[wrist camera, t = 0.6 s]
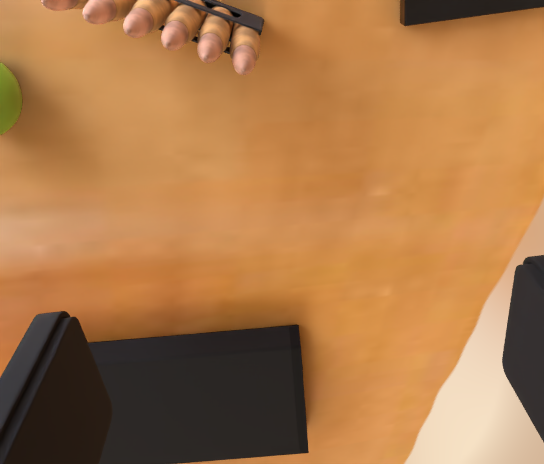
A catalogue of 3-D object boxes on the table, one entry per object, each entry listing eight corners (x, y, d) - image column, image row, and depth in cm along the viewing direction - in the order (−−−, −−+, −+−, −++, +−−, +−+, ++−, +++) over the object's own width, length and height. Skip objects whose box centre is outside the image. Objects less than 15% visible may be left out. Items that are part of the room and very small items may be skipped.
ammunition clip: (264, 18, 33) (269, 57, 23) (255, 46, 34) (256, 96, 24) (98, -43, 31) (22, -30, 21) (93, -11, 32) (18, 16, 22)
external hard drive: (45, 345, 47) (32, 369, 44) (298, 323, 46) (301, 346, 44) (86, 446, 54) (77, 473, 51) (306, 428, 54) (309, 454, 51)
